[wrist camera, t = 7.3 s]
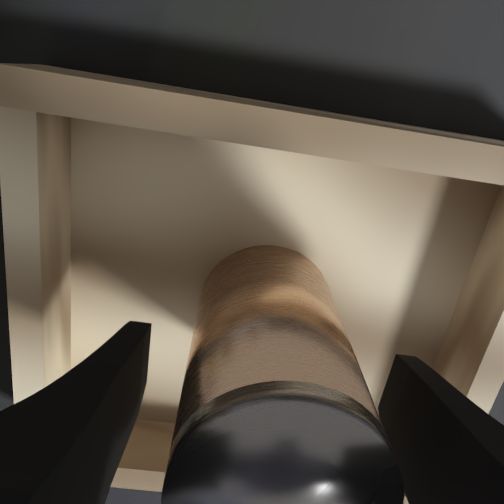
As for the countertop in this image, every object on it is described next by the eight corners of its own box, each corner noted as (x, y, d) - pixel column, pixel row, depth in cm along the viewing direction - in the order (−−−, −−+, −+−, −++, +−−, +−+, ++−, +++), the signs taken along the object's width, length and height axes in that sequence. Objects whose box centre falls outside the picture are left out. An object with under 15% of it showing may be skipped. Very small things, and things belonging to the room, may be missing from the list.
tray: (412, 456, 20) (440, 519, 17) (51, 417, 19) (18, 477, 16) (535, 145, 15) (603, 162, 12) (44, 64, 13) (-8, 62, 11)
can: (312, 368, 17) (363, 593, 10) (191, 349, 17) (148, 568, 9) (346, 258, 15) (440, 430, 8) (211, 233, 15) (178, 391, 8)
